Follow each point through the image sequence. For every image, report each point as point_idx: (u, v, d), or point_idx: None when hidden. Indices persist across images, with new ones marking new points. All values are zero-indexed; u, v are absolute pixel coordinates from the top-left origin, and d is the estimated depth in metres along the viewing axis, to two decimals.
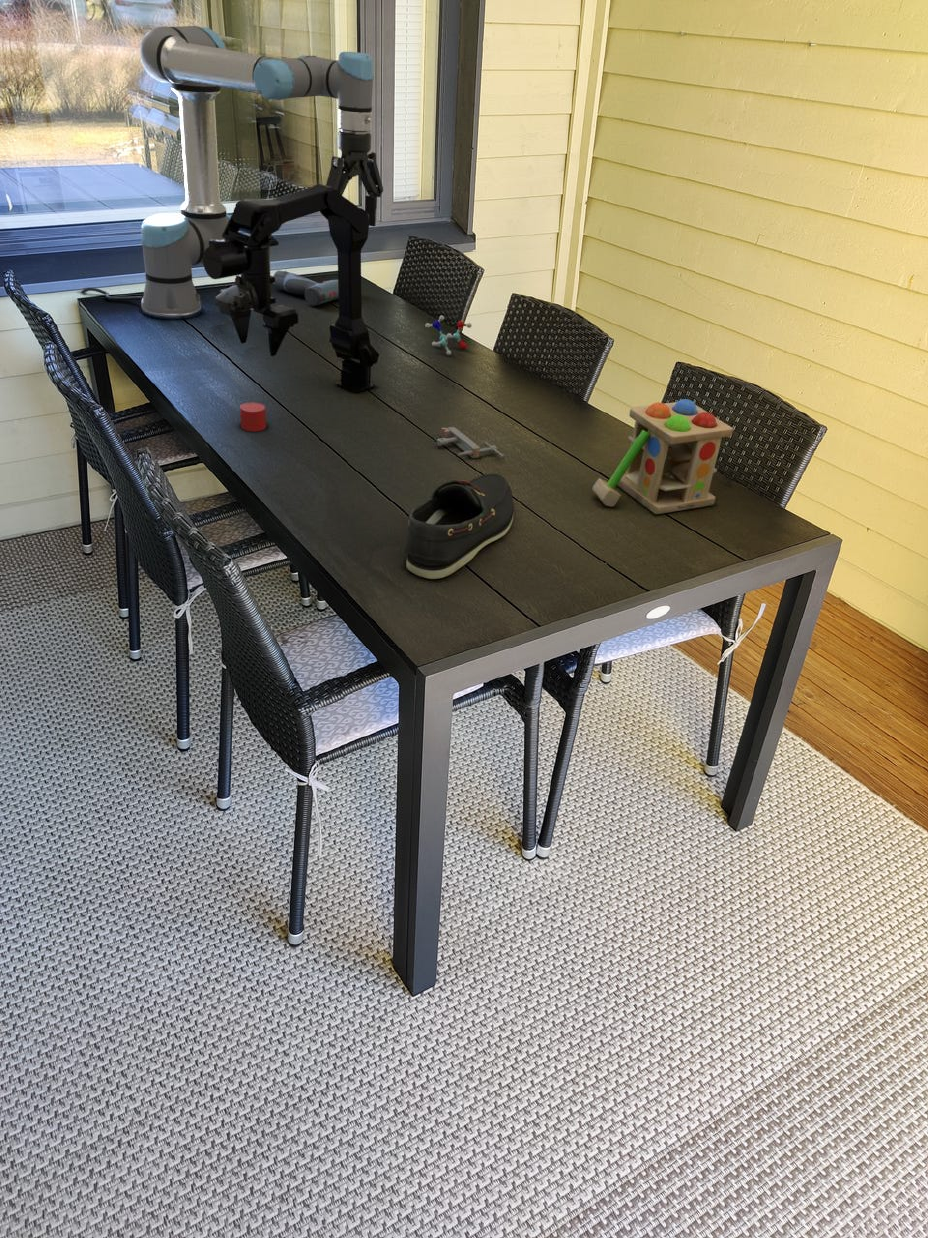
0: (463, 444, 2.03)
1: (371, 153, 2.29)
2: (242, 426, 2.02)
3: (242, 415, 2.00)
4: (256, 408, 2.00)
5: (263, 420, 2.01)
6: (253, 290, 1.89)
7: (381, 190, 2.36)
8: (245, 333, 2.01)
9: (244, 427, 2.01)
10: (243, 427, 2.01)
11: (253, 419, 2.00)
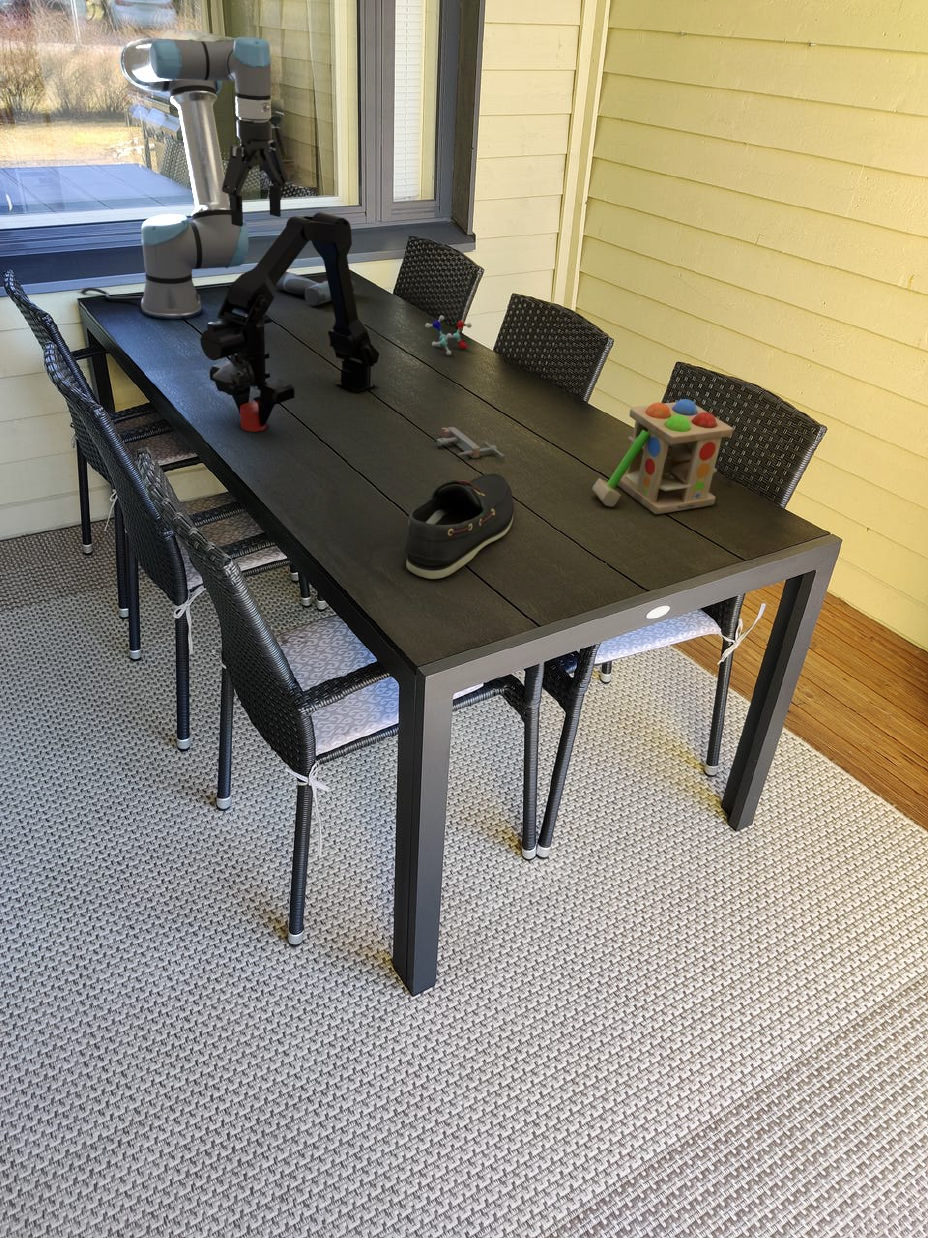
0: (463, 444, 2.03)
1: (273, 142, 2.22)
2: (242, 426, 2.02)
3: (242, 415, 2.00)
4: (257, 408, 2.00)
5: None
6: (250, 367, 1.92)
7: (285, 179, 2.30)
8: None
9: (244, 427, 2.01)
10: (243, 427, 2.01)
11: (253, 419, 2.00)
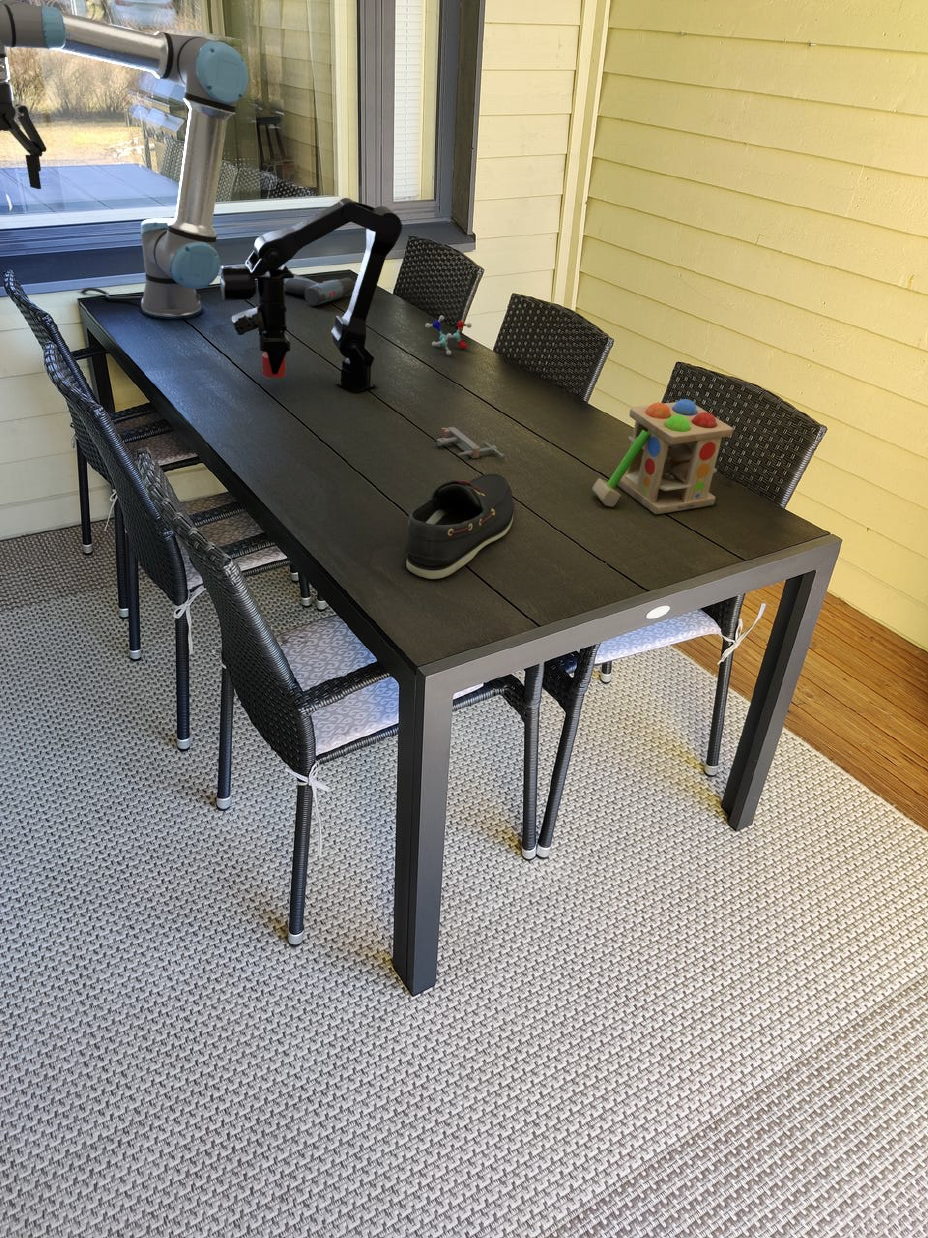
0: (463, 444, 2.03)
1: (21, 106, 2.06)
2: None
3: None
4: None
5: None
6: (259, 314, 2.08)
7: (43, 149, 2.13)
8: None
9: (262, 371, 2.17)
10: (262, 371, 2.17)
11: (266, 365, 2.15)
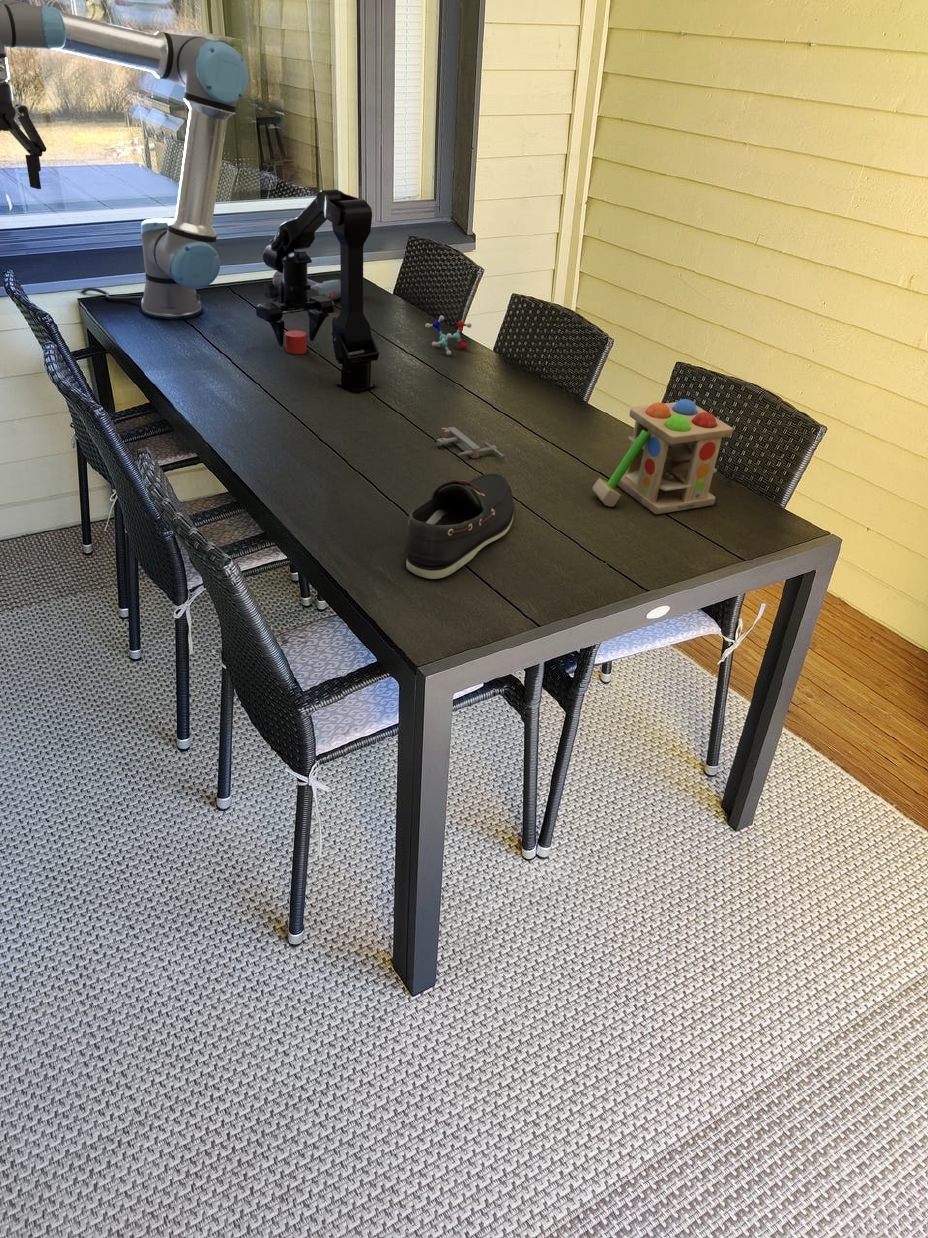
0: (463, 444, 2.03)
1: (21, 106, 2.06)
2: None
3: None
4: (292, 334, 2.39)
5: (288, 344, 2.40)
6: (280, 288, 2.34)
7: (43, 149, 2.13)
8: (312, 333, 2.42)
9: None
10: None
11: None
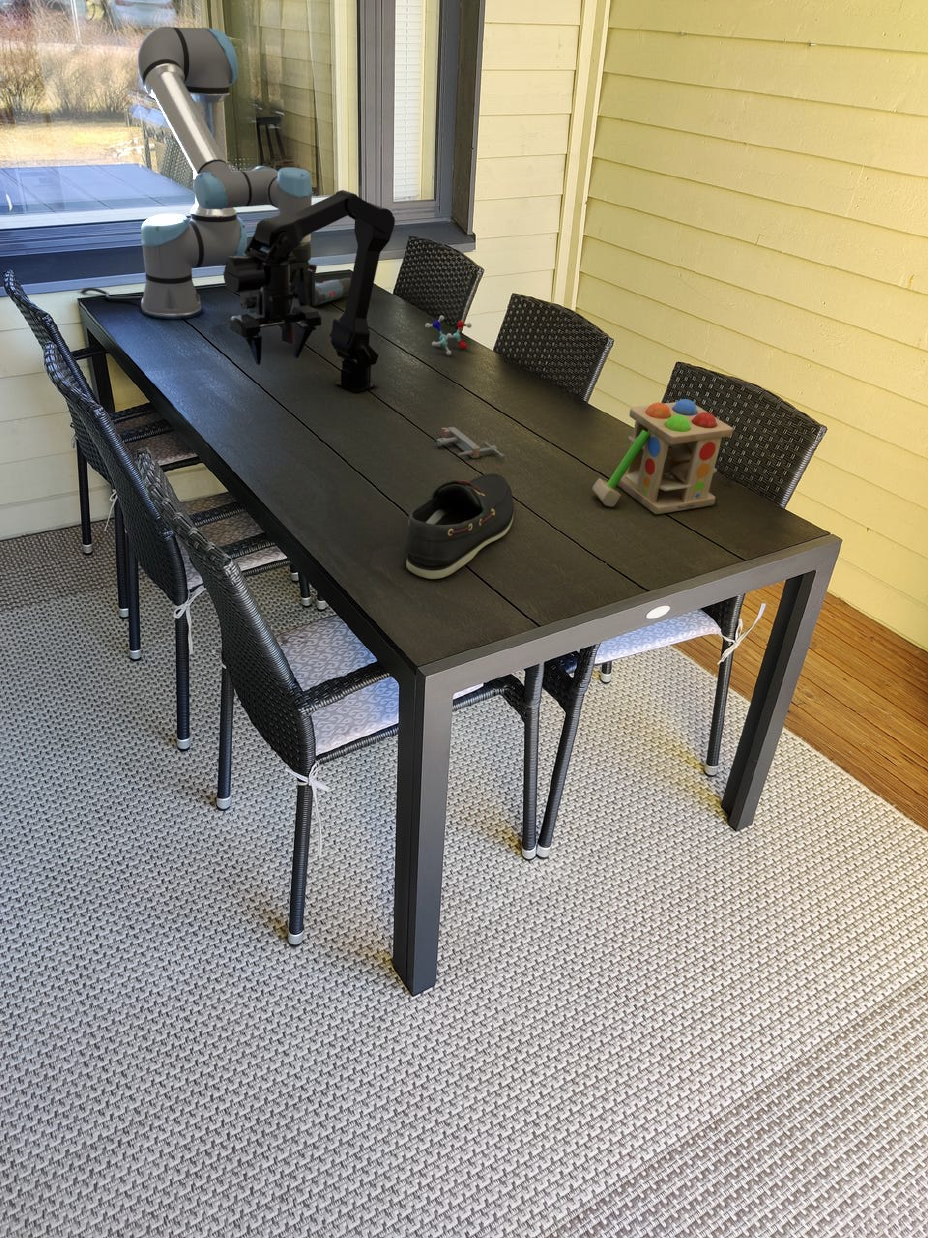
0: (463, 444, 2.03)
1: (312, 265, 2.35)
2: None
3: None
4: None
5: None
6: (258, 297, 2.01)
7: (313, 303, 2.40)
8: (296, 349, 2.09)
9: None
10: None
11: None
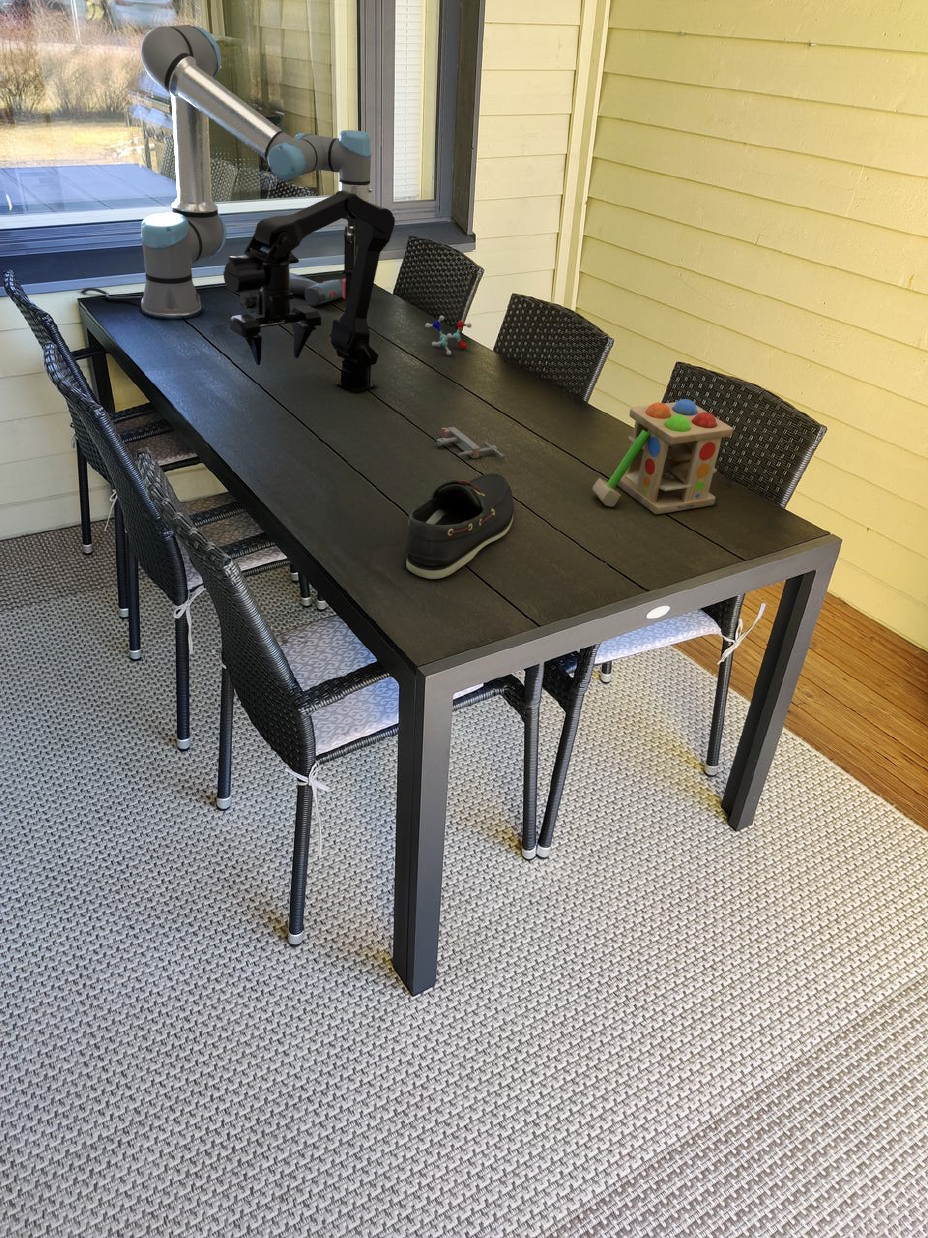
0: (463, 444, 2.03)
1: None
2: None
3: None
4: None
5: None
6: (258, 297, 2.01)
7: None
8: (296, 349, 2.09)
9: None
10: None
11: (343, 287, 2.52)
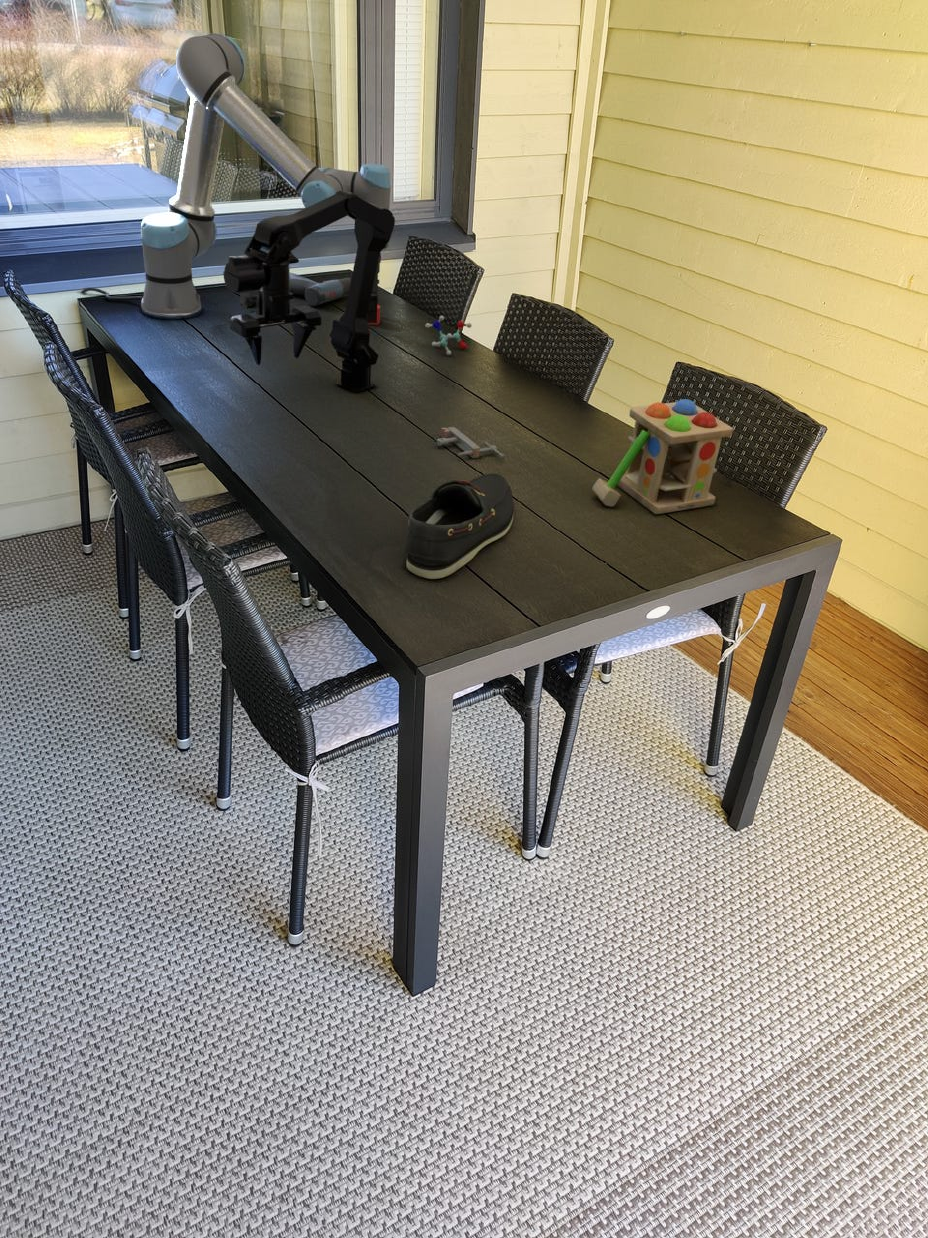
0: (463, 444, 2.03)
1: None
2: None
3: None
4: None
5: None
6: (258, 297, 2.01)
7: None
8: (296, 349, 2.09)
9: None
10: None
11: None
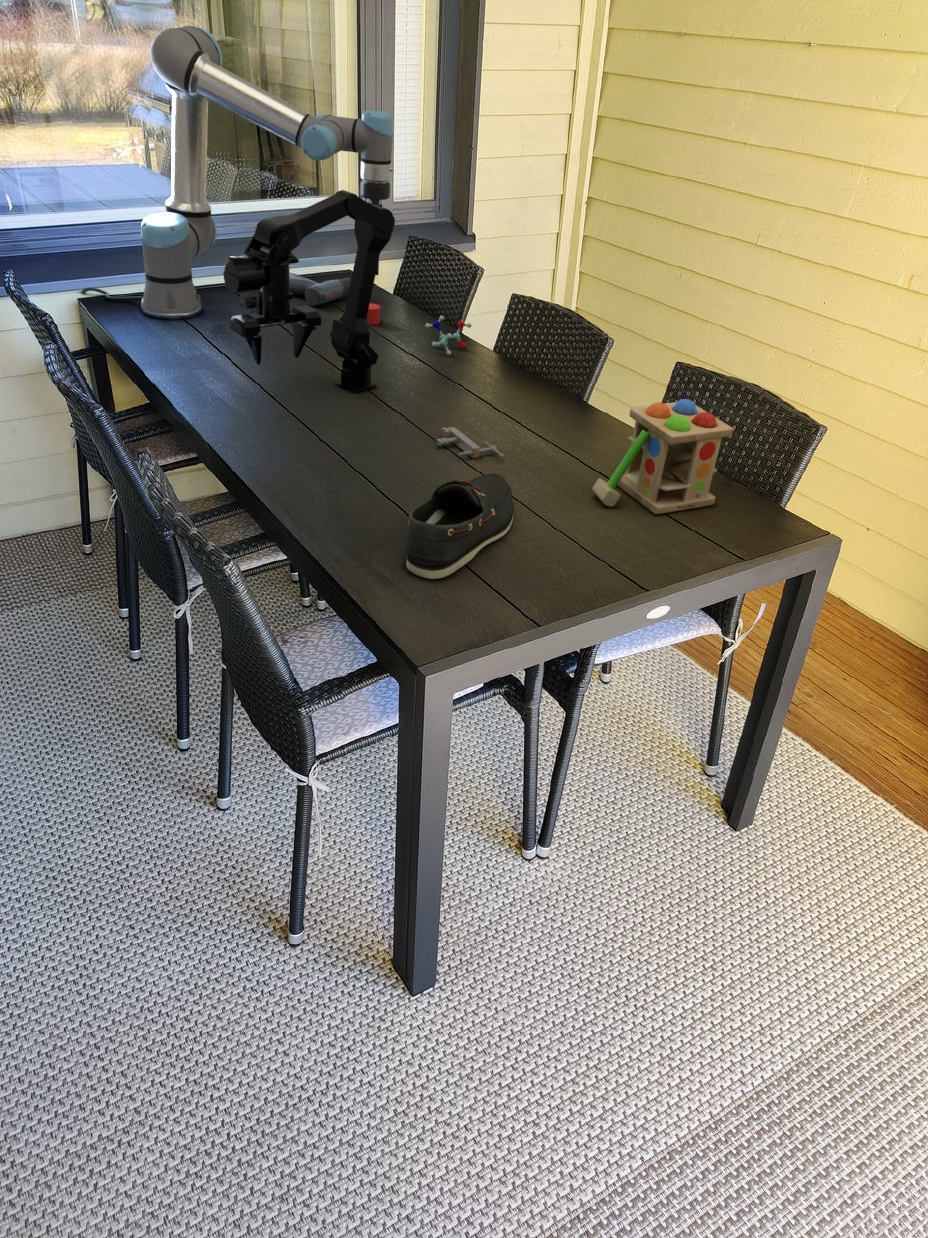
0: (463, 444, 2.03)
1: None
2: None
3: None
4: (370, 307, 2.62)
5: (369, 317, 2.62)
6: (258, 297, 2.01)
7: None
8: (296, 349, 2.09)
9: None
10: None
11: None
